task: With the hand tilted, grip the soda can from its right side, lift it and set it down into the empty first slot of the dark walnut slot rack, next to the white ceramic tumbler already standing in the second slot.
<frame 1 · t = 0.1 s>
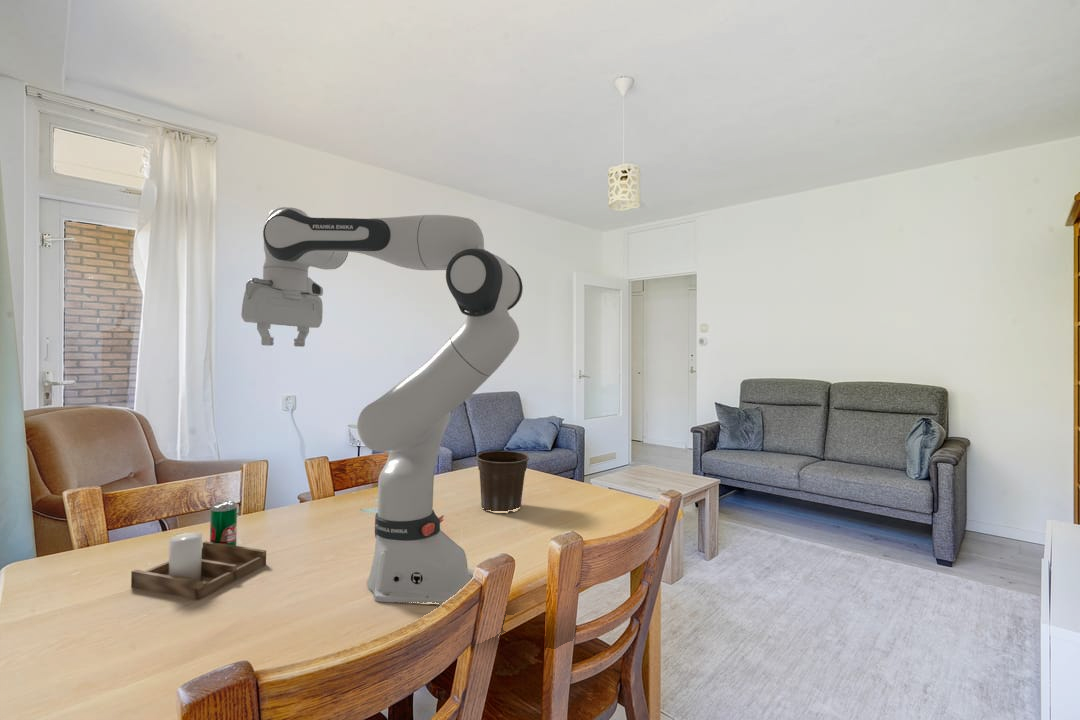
hand: (284, 346, 110), 48 cm above the table, tool pointing down, fingers open, 8 cm apart
slot rack: (202, 580, 100), on the table
soda can: (223, 557, 112), on the table
plant pot: (501, 508, 152), on the table
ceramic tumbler: (185, 583, 96), point 1 cm above the table, touching slot rack
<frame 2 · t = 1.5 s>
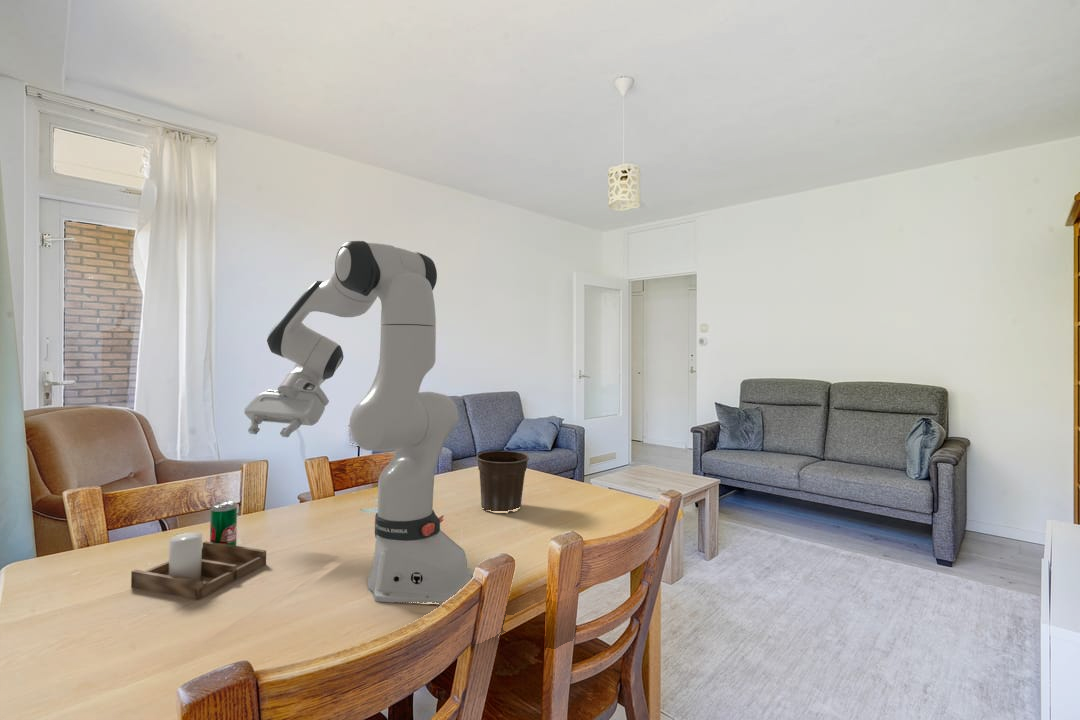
hand: (267, 434, 123), 26 cm above the table, tool tilted 45°, fingers open, 8 cm apart
nothing on the table moved.
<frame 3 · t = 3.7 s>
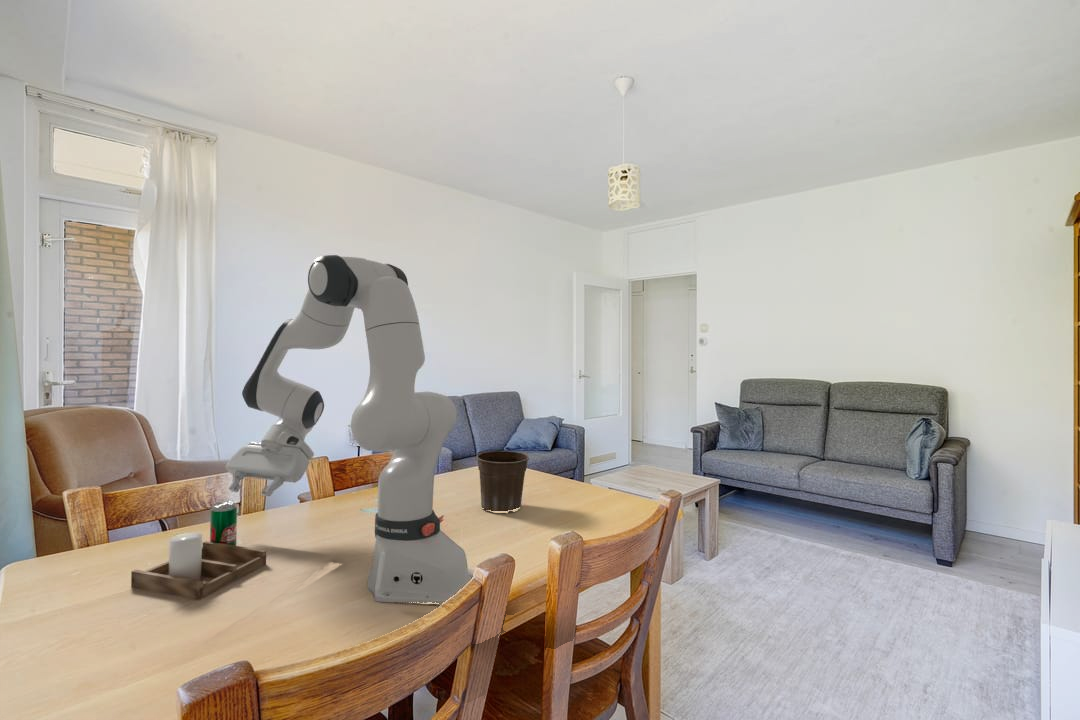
hand: (248, 492, 118), 13 cm above the table, tool tilted 45°, fingers open, 8 cm apart
nothing on the table moved.
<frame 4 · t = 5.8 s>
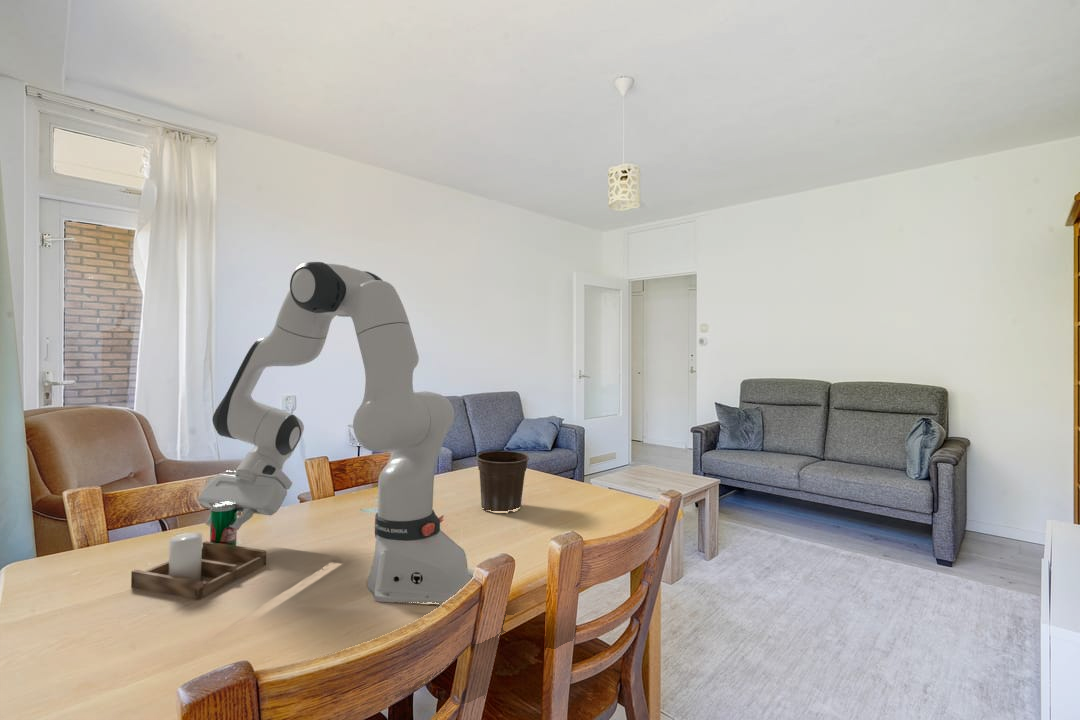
hand: (221, 527, 111), 7 cm above the table, tool tilted 45°, fingers closed on soda can, 5 cm apart
soda can: (223, 557, 112), on the table, touching gripper
everything else where it was.
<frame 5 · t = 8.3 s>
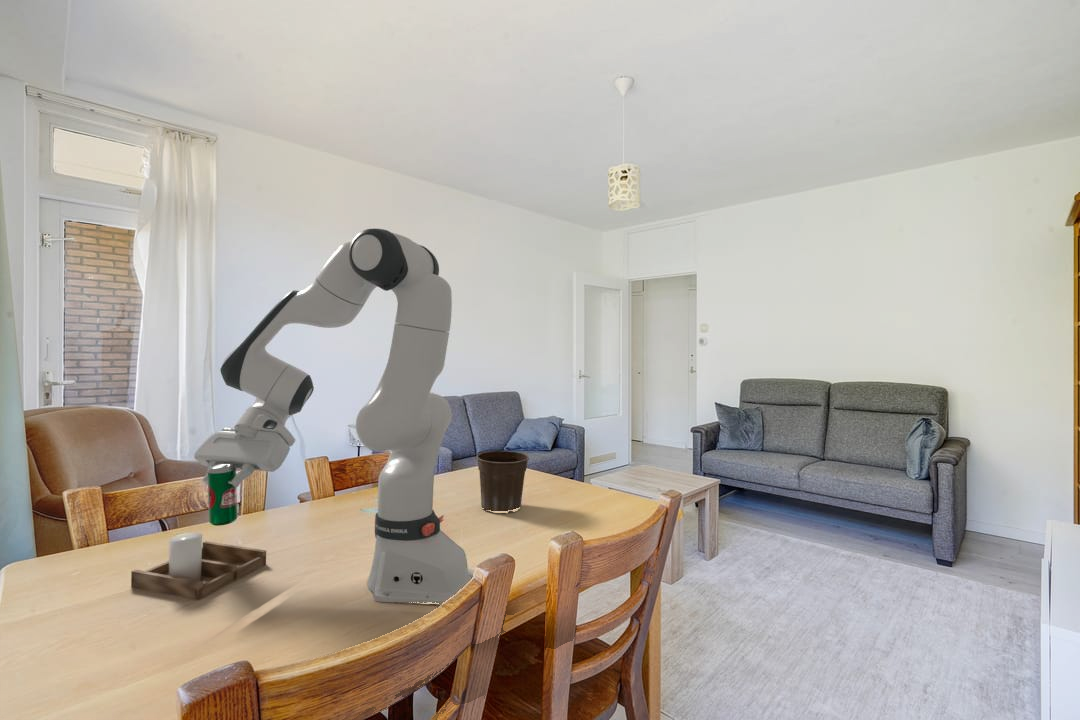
hand: (219, 484, 103), 19 cm above the table, tool tilted 45°, fingers closed on soda can, 5 cm apart
soda can: (223, 522, 104), point 10 cm above the table, touching gripper
everything else where it was.
when the fingers open (9 cm above the table, at t = 10.6 s): soda can stays where it is, resting on slot rack.
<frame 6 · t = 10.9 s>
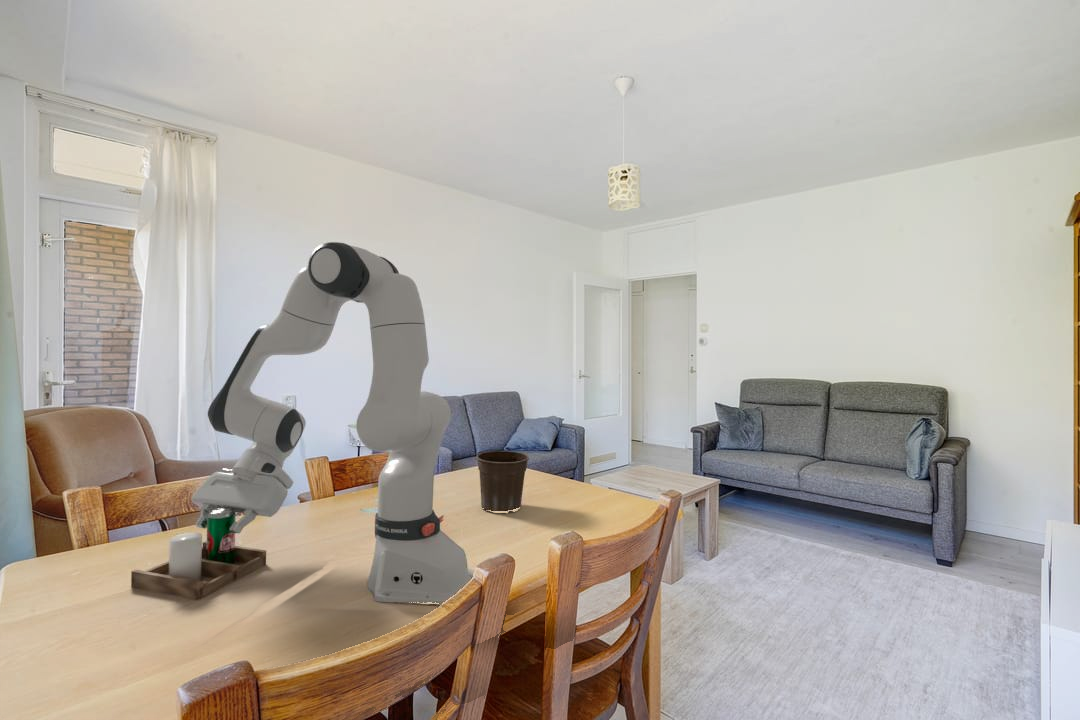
hand: (216, 529, 103), 9 cm above the table, tool tilted 45°, fingers open, 7 cm apart
soda can: (220, 567, 104), point 1 cm above the table, touching slot rack
everything else where it was.
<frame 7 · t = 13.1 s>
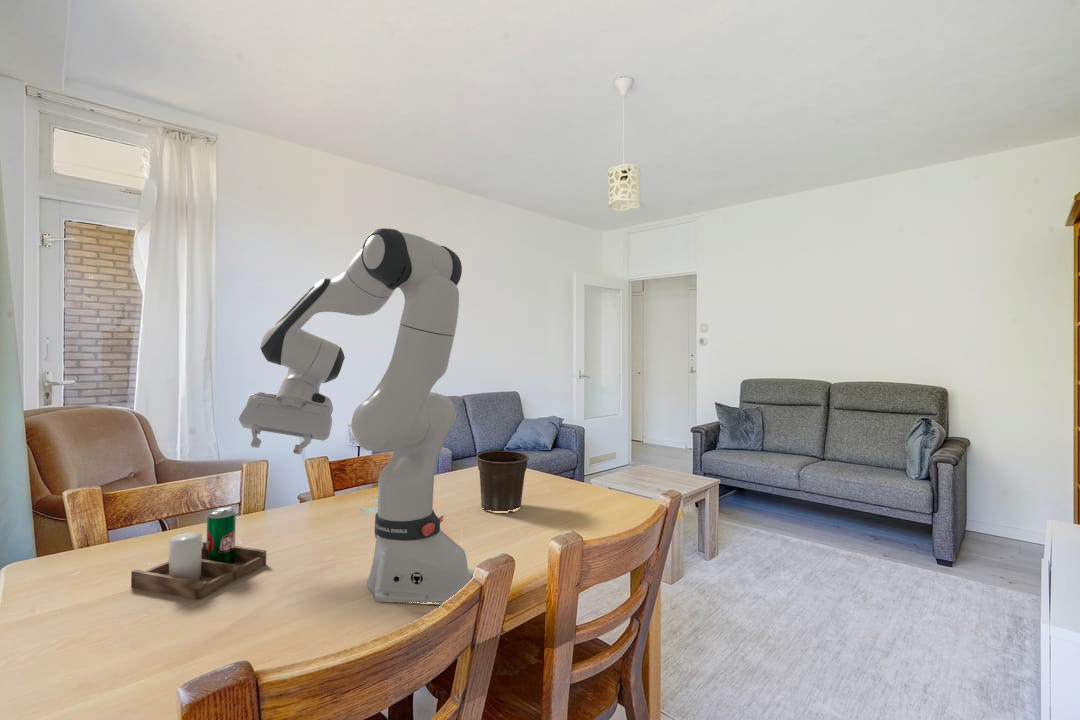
hand: (275, 450, 116), 23 cm above the table, tool tilted 35°, fingers open, 8 cm apart
nothing on the table moved.
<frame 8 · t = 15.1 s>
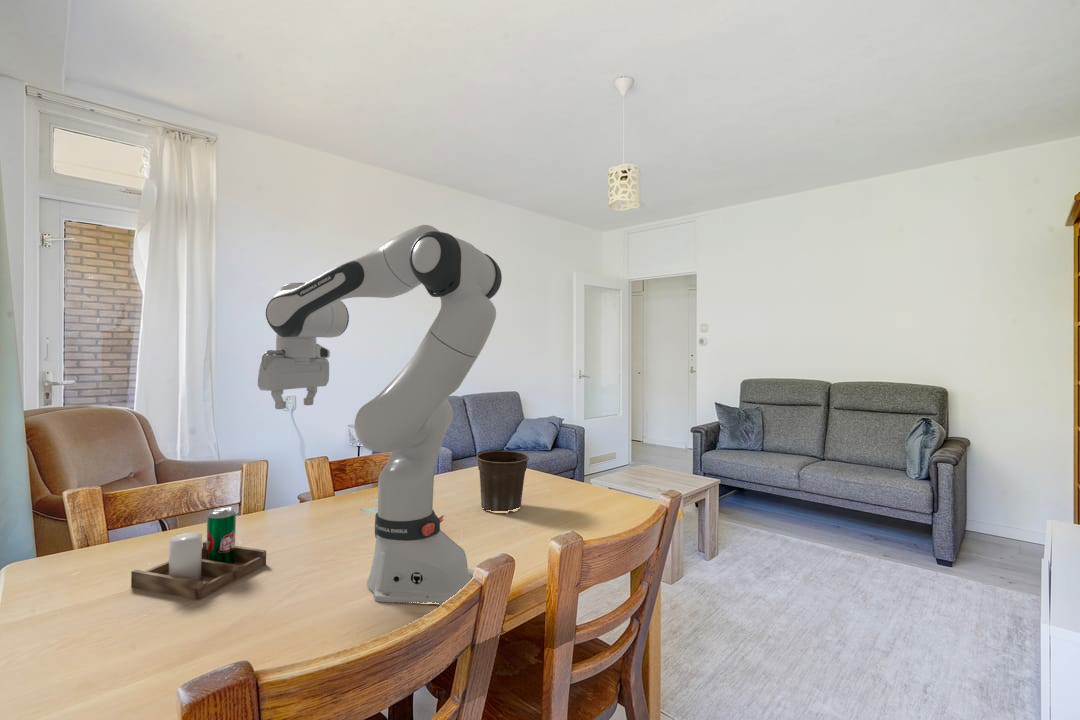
hand: (295, 407, 121), 33 cm above the table, tool pointing down, fingers open, 8 cm apart
nothing on the table moved.
at the end: soda can inside the target area on the slot rack (0.4 cm from its centre), point 1.0 cm above the slot rack's base; soda can tilted 0°; the gripper is holding nothing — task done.
